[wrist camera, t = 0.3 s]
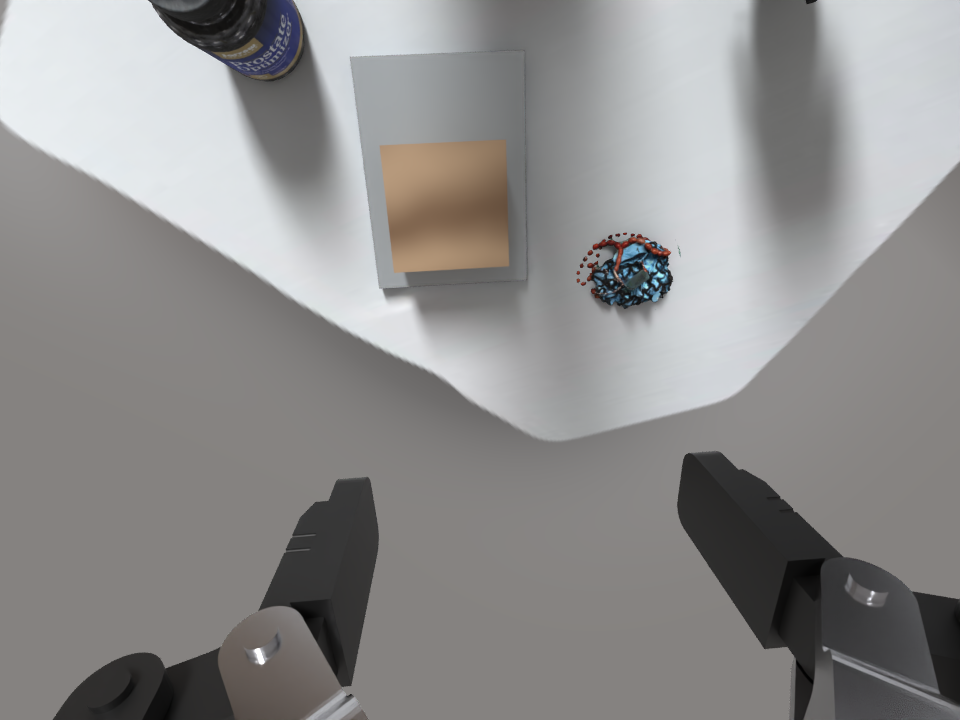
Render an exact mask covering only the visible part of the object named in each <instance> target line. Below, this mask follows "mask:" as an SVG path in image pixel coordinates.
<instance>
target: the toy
mask: <svg viewBox="0 0 960 720" xmlns="http://www.w3.org/2000/svg"><path fill="white" fill-rule="evenodd" d="M816 1H817V0H806V4H809V3H813V2H816Z"/></svg>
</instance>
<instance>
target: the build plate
mask: <svg viewBox="0 0 960 720" xmlns="http://www.w3.org/2000/svg"><path fill="white" fill-rule="evenodd" d="M350 61H351V69H352V77H353V85H354V93H355V101H356V109H357V117H358V124H359V132H360V140H361V148H362V156H363V164H364V172H365V180H366V188H367V195H368V203H369V211H370V219H371V227H372V235H373V243H374V251H375V259H376V266H377V274H378V282H379V289H381V288H398V287H415V286H432V285H450V284H467V283H484V282H501V281H518V280H527V252H526V161H525V70H524V50H514V51H488V52H463V53H437V54H411V55H386V56H360V57H350ZM484 140H506V157H507V198H508V239H509V266H505V267H488V268H471V269H453V270H436V271H418V272H401V273H394V268H393V260H392V251H391V242H390V233H389V224H388V216H387V207H386V198H385V189H384V181H383V172H382V163H381V154H380V145H398V144H420V143H441V142H463V141H484Z"/></svg>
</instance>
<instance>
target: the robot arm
mask: <svg viewBox="0 0 960 720" xmlns="http://www.w3.org/2000/svg"><path fill="white" fill-rule="evenodd" d="M677 507H678V514H679V518H680V521H681V524H682V526H683V528H684V529H685V531H686V532H687V534H688V535H689V537H690V538H691V540H692V541H693V543H694V544H695V546H696V547H697V549H698V550H699V552H700V553H701V555H702V556H703V558H704V559H705V561H706V562H707V564H708V565H709V567H710V568H711V570H712V571H713V573H714V574H715V576H716V577H717V579H718V580H719V582H720V583H721V585H722V586H723V588H724V589H725V591H726V592H727V594H728V595H729V597H730V598H731V600H732V601H733V603H734V604H735V606H736V607H737V608H738V610H739V612H740V613H741V614H742V616H743V617H744V619H745V621H746V622H747V623H748V625H749V627H750V628H751V630H752V631H753V632H754V634H755V635H756V637H757V638H758V640H759V641H760V643H761V644H762V646H763V647H764V649H769V648H780V647H788V648H789V650H790V651H791V652H792V654H793V655H794V659H793V662H792V667H791V685H790V709H789V720H960V599H954V598H948V597H942V596H936V595H930V594H924V593H918V592H912V591H911V590H910V589H909V588H908V587H907V586H906V585H905V584H903V582H902V581H900V580H899V579H898V578H896V577H895V576H893V575H892V574H890V573H889V572H887V571H885V570H883V569H882V568H879V567H877V566H875V565H873V564H870V563H867V562H865V561H862V560H858V559H853V558H845V557H843V556H842V555H841V554H840V553H839V552H838V551H837V550H835V549H834V548H833V547H832V546H831V545H830V544H829V543H828V542H827V541H826V540H825V539H824V538H823V537H822V536H821V535H820V534H819V533H818V532H817V531H816V530H815V529H814V528H812V527H811V526H810V525H809V524H808V523H807V522H806V521H805V520H804V519H803V518H802V517H801V516H800V515H799V514H798V513H797V512H794V511H793V508H792V507H791V506H790V505H788V503H786V502H785V501H784V500H783V499H782V500H781V499H780V496H779V495H778V494H777V493H776V492H775V491H774V490H773V489H772V488H771V487H770V486H769V485H768V484H767V483H766V482H764V481H763V480H761V479H759V478H757V477H756V476H754V475H752V474H750V473H749V472H747V471H745V470H743V469H742V470H738V469H737V468H736V467H735V466H734V465H733V464H732V463H731V462H730V461H729V460H728V459H727V458H726V457H725V456H724V455H723V454H722V453H721V452H718V451H712V452H700V453H688V454H686V455H685V457H684V459H683V465H682V472H681V480H680V487H679V494H678V502H677ZM378 541H379V533H378V524H377V517H376V512H375V506H374V500H373V494H372V488H371V482H370V479H369V478H368V477H364V478H351V479H338V480H337V481H336V483H335V486H334V489H333V491H332V493H331V496H330V499H329V501H323V502H315V503H314V504H313V505H312V506H311V507H310V508H309V509H308V510H307V511H306V513H304V514H303V515H302V516H301V517H300V519H299V521H298V524H297V526H296V528H295V530H294V533H293V537H292V538H291V539H290V542H289V544H288V546H287V548H286V553H284V555H283V557H282V559H281V562H280V564H279V567H278V568H277V571H276V573H275V575H274V577H273V579H272V582H271V584H270V586H269V588H268V591H267V593H266V595H265V597H264V600H263V602H262V604H261V606H260V609H259V610H258V611H257V612H255V613H253V614H251V615H250V616H248V617H247V618H245V619H244V620H242V621H241V622H240V623H239V624H237V626H235V627H234V628H233V629H232V631H231V632H230V633H229V634H228V635H227V637H226V638H225V640H224V642H223V643H222V646H221V647H219V648H218V649H216V650H214V651H211V652H209V653H206V654H203V655H201V656H198V657H196V658H193V659H190V660H187V661H185V662H182V663H179V664H177V665H174V666H171V667H168V668H166V669H165V667H164V665H163V663H162V661H161V659H160V658H159V657H158V656H156V655H154V654H151V653H135V654H131V655H127V656H124V657H122V658H119V659H117V660H114V661H112V662H111V663H109V664H107V665H105V666H103V667H102V668H101V669H99V670H98V671H96V672H94V673H93V674H92V675H91V676H90V677H88V678H87V679H86V680H85V681H83V682H82V683H81V684H80V685H79V686H78V687H77V688H76V689H75V690H74V692H72V694H71V695H70V696H69V697H68V699H67V700H66V701H65V703H64V704H63V706H62V707H61V709H60V710H59V711H58V713H57V714H56V716H55V717H54V719H53V720H369V719H368V718H367V716H366V714H365V712H364V711H363V709H362V707H361V706H360V704H359V702H358V701H357V699H356V698H355V697H354V696H353V695H352V694H350V695H349V696H347V695H346V694H345V692H344V690H343V689H342V687H344V686H351V684H352V679H353V674H354V668H355V664H356V659H357V654H358V649H359V644H360V639H361V634H362V628H363V624H364V618H365V614H366V609H367V603H368V598H369V593H370V588H371V583H372V578H373V572H374V568H375V563H376V558H377V552H378Z"/></svg>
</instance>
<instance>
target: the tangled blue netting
mask: <svg viewBox="0 0 960 720" xmlns="http://www.w3.org/2000/svg"><path fill="white" fill-rule="evenodd" d="M626 234H627V233H623V235H626ZM634 235H635V234H631V238H629V239H628V240H625V241H623V242H615V241H613V240H612V235H610V236H609V237H608V239H611V240H609V241H607V242H605V241H606V240H605V239H604V240H603V241H602V242H601V243H599V244H594V245H593V250H595V249H597V248H599V247H600V248H599V249H600V250H601V249H602V247H606V246H613V245H614V246H615V248H616V253H615V255H614V257H613V258H612V259H610V260H607V261H606V262H605V263H604V264H603V266H601V267H599V266H598V261H597V262H595V263H594V264H592V263H589V264H588V265H587V267H588V268H592V273H590V276H588V278H587V281H591V280H592V281H595V282H596V288H594V289H591V292H592V294H595V298H600V299H601V300H602V302H606V303H607V304H609V305H612V303H613V302H617V305H619V306H623V307H624V309H626V308H627V307H629V306H632V305H639V304H640V303H642V302H646V301H649V300H651V301H652V302H657V301H658V298H659V297H660V298H663V294H665V293H667V291H669V290H670V286H671V284H672V282H673V281H672V280H673V276H671V272H670V271H669V270H668V269H667V266H668V265H669V263H668V255H670V254H671V252H670V251H668V249H666V248H663V247H662V246H661V245H658V244H657V243H656V242H651V241H650V240H649V239H648V238H646V237H644V238H643V237H642V235H641V234H638V235H637V236H636V237H637V238H635V237H633V236H634ZM615 236H618V237H619V236H620V234H616V235H615ZM678 249H679V247H678ZM592 254H593V251H592V250H590V251H589V252H588V255H589V256H590V255H592ZM679 254H680V249H679ZM599 256H600V255H599V254H596V257H597V258H598V257H599ZM680 258H681V256H680ZM587 259H588V258H587V257H586V256H585V257H584V259H583V261H584V262H585V261H587ZM595 265H597V267H594V266H595ZM583 266H584V265H583V263H582V264H581V265H580V268H583ZM579 274H580V272H579V271H577V275H579ZM577 282H580V279H577ZM585 284H586V282H585V283H584V282H582V283H581V285H582V286H584V285H585Z"/></svg>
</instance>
